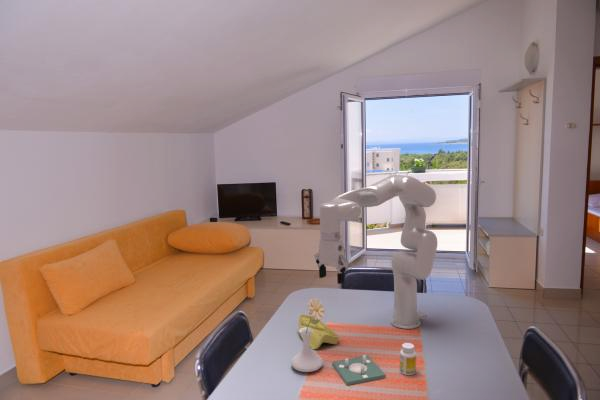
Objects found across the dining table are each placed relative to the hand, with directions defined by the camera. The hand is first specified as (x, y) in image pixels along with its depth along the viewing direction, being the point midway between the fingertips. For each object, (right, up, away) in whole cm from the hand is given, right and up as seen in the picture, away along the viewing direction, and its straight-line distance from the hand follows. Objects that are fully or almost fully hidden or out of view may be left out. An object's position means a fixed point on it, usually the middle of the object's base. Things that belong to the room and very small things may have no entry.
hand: (331, 279), depth 165 cm
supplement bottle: (+25, -29, -14) cm, 41 cm away
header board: (+8, -29, -13) cm, 33 cm away
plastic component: (-5, -27, +13) cm, 30 cm away
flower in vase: (-9, -30, -8) cm, 32 cm away
